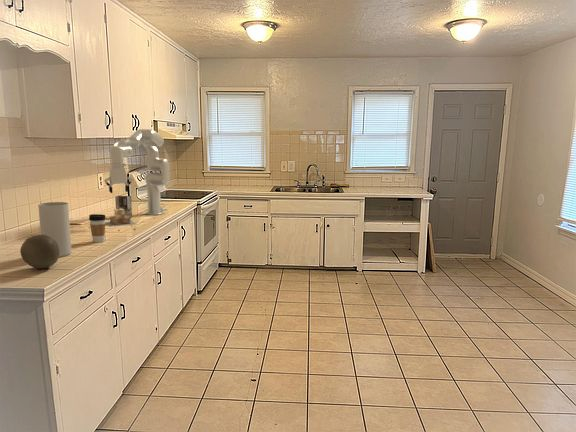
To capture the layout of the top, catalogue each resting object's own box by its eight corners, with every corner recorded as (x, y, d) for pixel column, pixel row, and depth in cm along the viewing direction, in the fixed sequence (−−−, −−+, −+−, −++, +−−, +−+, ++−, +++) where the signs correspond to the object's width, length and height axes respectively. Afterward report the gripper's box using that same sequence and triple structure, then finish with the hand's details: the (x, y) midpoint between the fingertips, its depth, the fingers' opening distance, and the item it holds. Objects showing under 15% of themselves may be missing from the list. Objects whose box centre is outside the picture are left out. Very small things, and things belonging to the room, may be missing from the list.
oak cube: (122, 216, 278) (122, 208, 278) (124, 217, 274) (124, 209, 274) (114, 216, 275) (114, 209, 275) (116, 217, 272) (116, 210, 271)
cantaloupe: (34, 264, 188) (31, 231, 185) (66, 264, 189) (64, 232, 186) (15, 273, 174) (12, 238, 172) (50, 274, 175) (47, 239, 172)
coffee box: (132, 218, 302) (131, 195, 299) (128, 219, 295) (127, 197, 293) (120, 217, 303) (119, 195, 300) (115, 219, 296) (114, 196, 293)
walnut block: (125, 221, 282) (125, 215, 282) (130, 223, 274) (129, 217, 274) (110, 222, 276) (109, 216, 276) (114, 225, 268) (113, 219, 268)
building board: (129, 221, 287) (129, 219, 287) (137, 226, 274) (137, 224, 274) (103, 224, 277) (103, 222, 277) (109, 228, 264) (109, 226, 264)
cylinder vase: (64, 249, 213) (61, 201, 208) (76, 254, 205) (72, 204, 201) (38, 254, 203) (34, 203, 199) (48, 259, 195) (44, 206, 191)
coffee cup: (90, 240, 234) (89, 213, 231) (106, 239, 237) (105, 213, 235) (90, 243, 226) (88, 216, 224) (107, 242, 230) (105, 215, 227)
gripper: (129, 165, 277) (130, 190, 280) (101, 165, 267) (103, 192, 270) (133, 166, 271) (134, 192, 274) (104, 166, 261) (106, 193, 264)
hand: (119, 192), depth 272 cm, fingers open, 9 cm apart
